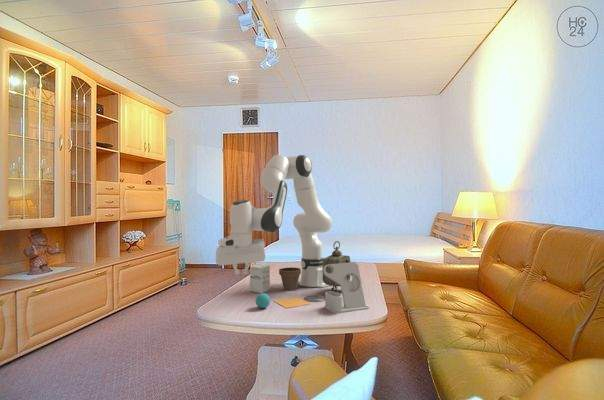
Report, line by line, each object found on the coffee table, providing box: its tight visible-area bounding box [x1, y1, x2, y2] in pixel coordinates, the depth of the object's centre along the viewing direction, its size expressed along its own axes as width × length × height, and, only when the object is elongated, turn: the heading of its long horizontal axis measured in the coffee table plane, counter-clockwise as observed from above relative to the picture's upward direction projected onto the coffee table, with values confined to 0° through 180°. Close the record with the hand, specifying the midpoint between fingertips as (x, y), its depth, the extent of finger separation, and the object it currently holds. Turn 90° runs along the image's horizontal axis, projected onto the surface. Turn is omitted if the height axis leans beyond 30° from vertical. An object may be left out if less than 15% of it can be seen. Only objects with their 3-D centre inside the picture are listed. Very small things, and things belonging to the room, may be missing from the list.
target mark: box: [273, 296, 311, 309], centre depth 146 cm, size 12×12×1 cm
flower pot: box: [278, 266, 302, 291], centre depth 171 cm, size 12×11×10 cm
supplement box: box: [249, 264, 271, 294], centre depth 167 cm, size 7×7×13 cm
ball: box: [255, 292, 271, 309], centre depth 139 cm, size 6×6×6 cm
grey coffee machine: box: [323, 261, 370, 314], centre depth 139 cm, size 17×10×18 cm, turn 111°
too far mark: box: [303, 294, 325, 303], centre depth 152 cm, size 10×10×1 cm
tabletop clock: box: [322, 240, 351, 294], centre depth 165 cm, size 14×9×25 cm, turn 148°
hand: (241, 274), depth 134 cm, fingers closed
